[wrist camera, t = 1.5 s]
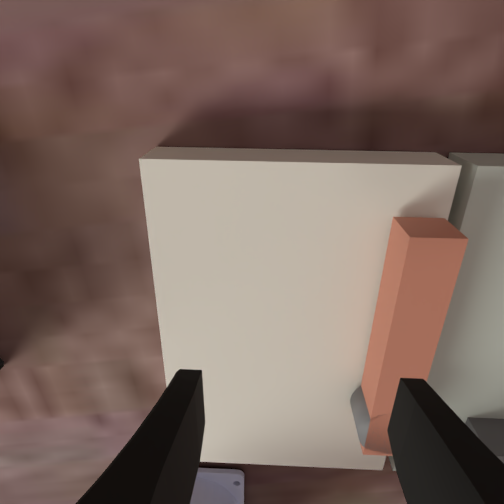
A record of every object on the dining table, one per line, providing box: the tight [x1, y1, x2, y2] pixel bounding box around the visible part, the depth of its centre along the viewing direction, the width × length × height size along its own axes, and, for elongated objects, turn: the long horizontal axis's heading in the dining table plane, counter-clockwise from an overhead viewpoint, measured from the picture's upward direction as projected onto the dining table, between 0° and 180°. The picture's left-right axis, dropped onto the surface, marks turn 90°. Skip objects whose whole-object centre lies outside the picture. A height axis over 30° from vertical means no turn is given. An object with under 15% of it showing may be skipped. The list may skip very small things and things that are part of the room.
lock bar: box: [350, 217, 469, 456], centre depth 16 cm, size 12×3×2 cm, turn 179°
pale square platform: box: [139, 147, 504, 471], centre depth 18 cm, size 18×24×5 cm
